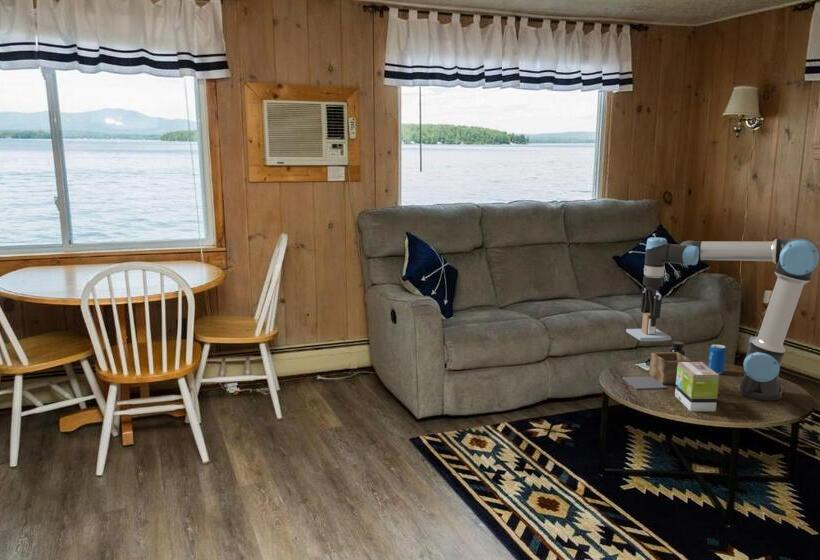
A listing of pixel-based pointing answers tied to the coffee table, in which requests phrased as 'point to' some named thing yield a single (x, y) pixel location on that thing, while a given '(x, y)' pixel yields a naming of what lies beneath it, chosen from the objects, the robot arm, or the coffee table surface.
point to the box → (665, 366)
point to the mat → (644, 382)
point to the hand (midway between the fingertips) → (648, 332)
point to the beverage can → (717, 358)
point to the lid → (643, 333)
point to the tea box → (697, 386)
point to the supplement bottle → (678, 348)
